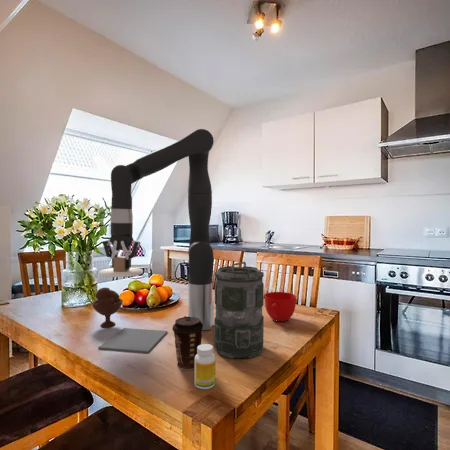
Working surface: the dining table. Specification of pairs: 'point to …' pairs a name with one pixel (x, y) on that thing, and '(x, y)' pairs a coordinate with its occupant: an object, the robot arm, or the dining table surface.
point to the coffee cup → (187, 340)
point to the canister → (239, 311)
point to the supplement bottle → (204, 367)
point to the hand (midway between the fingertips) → (121, 269)
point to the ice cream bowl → (107, 305)
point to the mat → (134, 340)
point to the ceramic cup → (280, 305)
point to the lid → (120, 269)
